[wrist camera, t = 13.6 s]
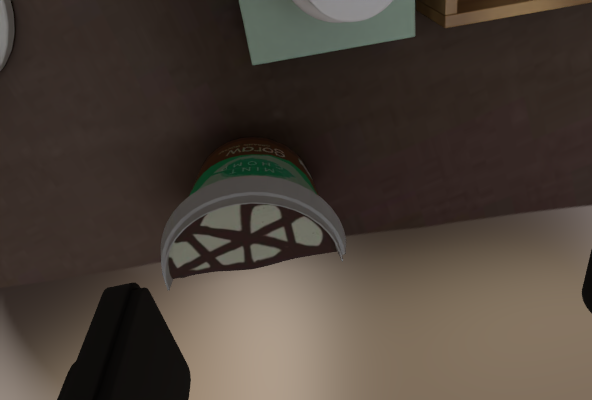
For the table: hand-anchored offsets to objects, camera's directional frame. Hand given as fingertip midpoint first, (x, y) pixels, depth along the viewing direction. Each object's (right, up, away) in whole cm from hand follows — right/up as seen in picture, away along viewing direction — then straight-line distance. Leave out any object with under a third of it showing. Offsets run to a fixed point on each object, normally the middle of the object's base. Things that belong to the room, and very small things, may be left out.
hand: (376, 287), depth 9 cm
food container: (-5, +5, +26) cm, 27 cm away
